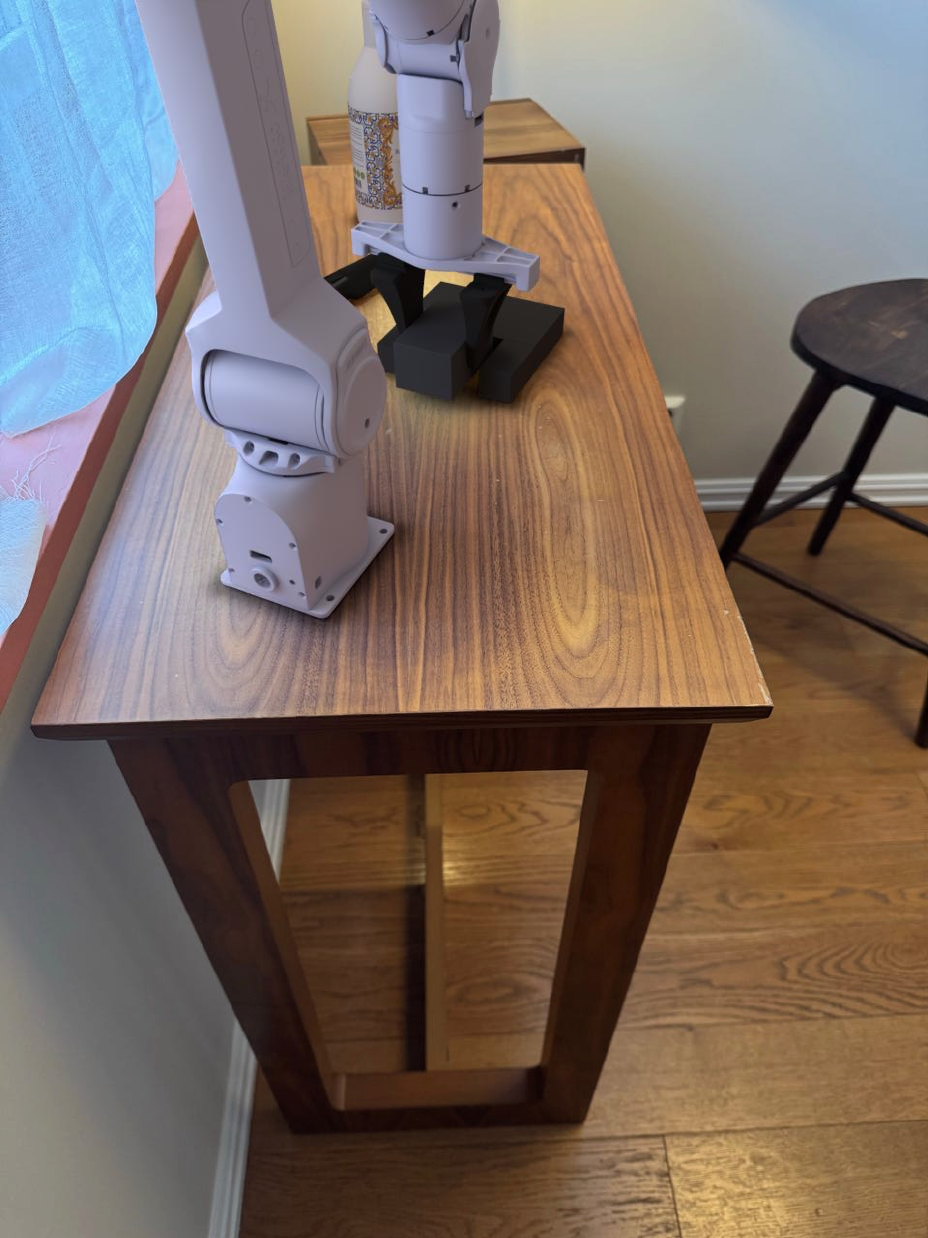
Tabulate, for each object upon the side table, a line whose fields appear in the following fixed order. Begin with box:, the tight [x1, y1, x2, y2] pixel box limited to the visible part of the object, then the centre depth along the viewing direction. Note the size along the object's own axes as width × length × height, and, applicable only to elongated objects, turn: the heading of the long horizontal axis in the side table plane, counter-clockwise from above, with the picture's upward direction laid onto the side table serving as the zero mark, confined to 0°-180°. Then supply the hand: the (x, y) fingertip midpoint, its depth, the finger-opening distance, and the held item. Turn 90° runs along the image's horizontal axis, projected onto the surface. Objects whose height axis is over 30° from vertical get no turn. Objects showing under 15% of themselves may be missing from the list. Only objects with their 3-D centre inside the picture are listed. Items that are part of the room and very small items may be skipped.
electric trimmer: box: [322, 254, 378, 301], centre depth 83 cm, size 4×16×3 cm, turn 142°
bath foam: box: [346, 0, 403, 223], centre depth 90 cm, size 7×7×20 cm
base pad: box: [376, 280, 566, 404], centre depth 78 cm, size 12×12×2 cm
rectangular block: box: [393, 297, 494, 403], centre depth 73 cm, size 8×5×4 cm, turn 155°
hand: (445, 355), depth 73 cm, fingers closed on rectangular block, 5 cm apart
